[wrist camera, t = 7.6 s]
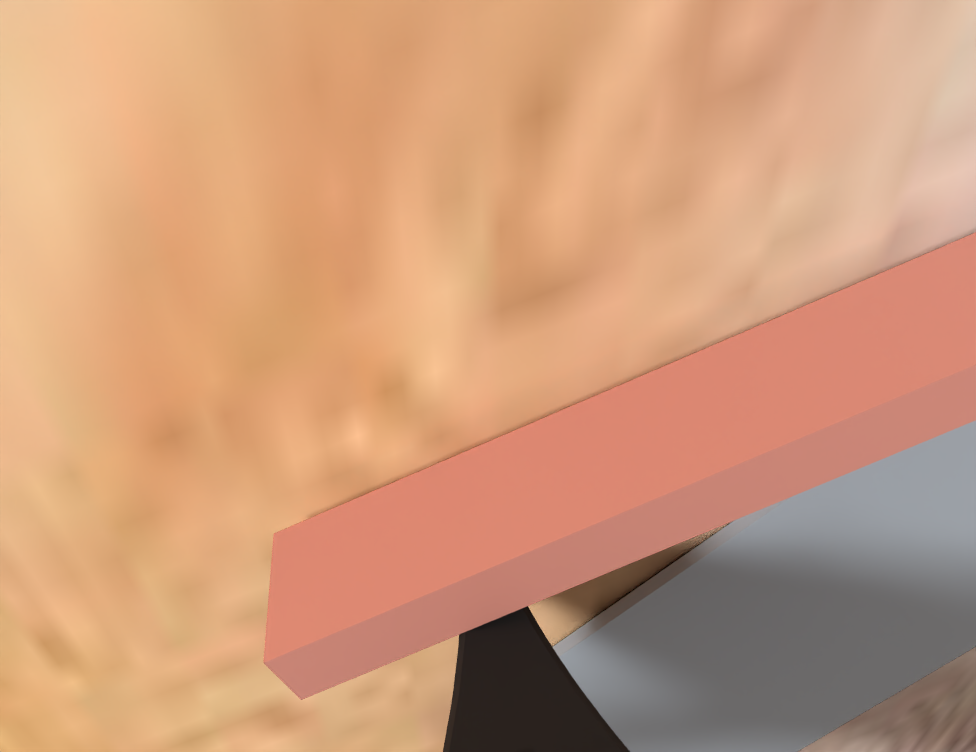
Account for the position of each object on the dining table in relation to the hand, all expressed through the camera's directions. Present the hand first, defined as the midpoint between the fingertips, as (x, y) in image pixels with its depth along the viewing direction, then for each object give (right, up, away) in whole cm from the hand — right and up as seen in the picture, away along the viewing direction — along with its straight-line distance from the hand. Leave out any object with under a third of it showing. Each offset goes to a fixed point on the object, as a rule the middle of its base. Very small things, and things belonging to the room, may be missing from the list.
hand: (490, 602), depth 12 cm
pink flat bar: (+3, +4, 0) cm, 5 cm away
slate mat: (+7, -2, +5) cm, 9 cm away
